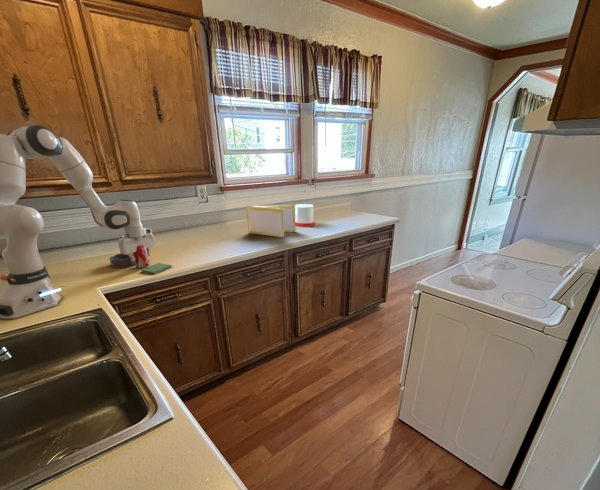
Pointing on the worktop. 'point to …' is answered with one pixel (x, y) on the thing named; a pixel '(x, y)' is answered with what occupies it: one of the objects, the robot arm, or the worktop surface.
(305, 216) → the container
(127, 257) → the pan
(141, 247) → the soda can
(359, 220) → the worktop surface
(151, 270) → the green flat block
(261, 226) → the white yellow panel stand
